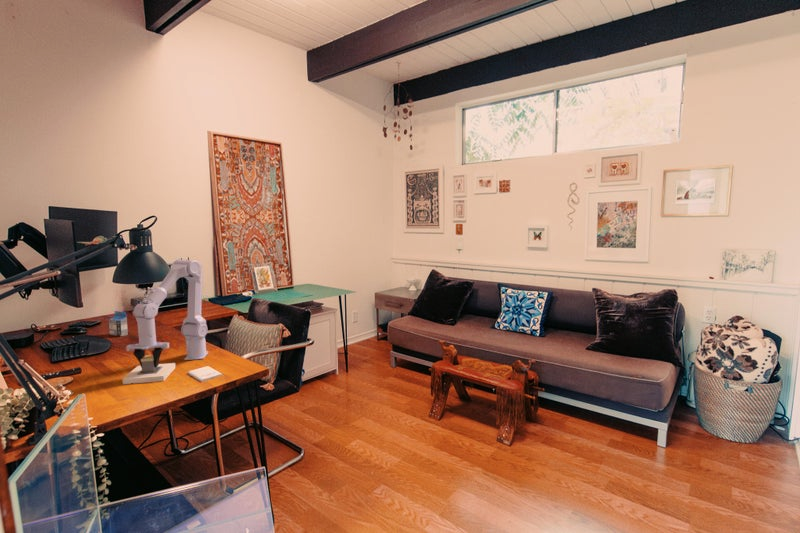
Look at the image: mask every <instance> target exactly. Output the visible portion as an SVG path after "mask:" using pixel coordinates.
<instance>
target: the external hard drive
mask: <svg viewBox="0 0 800 533" xmlns="http://www.w3.org/2000/svg"><path fill="white" fill-rule="evenodd" d="M187 374H188V375H189V376H191V377H192V378H194V379H196V380H197V381H198V382H201V383H203V382H206V381H210V380H212V379H216V377H217V378H219V377H223V373H221V372H220V371H218V370H216V369H214V368H212V367H210V366H209V365H207V366H203V367H199V368H195V369H192V370H188V371H187Z"/></svg>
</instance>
